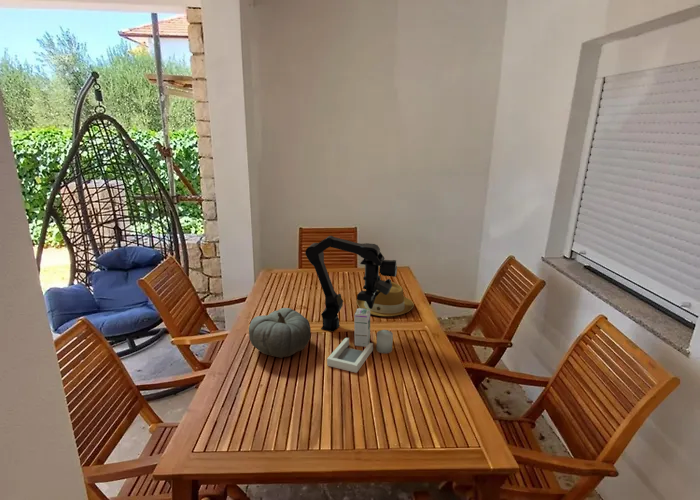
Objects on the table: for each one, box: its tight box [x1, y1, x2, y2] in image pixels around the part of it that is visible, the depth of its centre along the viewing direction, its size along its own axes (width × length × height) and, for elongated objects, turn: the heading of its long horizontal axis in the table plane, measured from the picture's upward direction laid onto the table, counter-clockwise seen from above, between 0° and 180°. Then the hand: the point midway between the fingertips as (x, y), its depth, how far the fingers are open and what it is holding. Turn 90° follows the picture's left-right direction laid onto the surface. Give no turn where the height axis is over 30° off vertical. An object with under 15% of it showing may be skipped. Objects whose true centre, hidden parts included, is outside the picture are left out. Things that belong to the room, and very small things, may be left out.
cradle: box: [326, 337, 374, 374], centre depth 160 cm, size 12×18×3 cm
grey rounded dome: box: [375, 329, 394, 354], centre depth 166 cm, size 6×6×7 cm
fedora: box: [356, 281, 415, 317], centre depth 205 cm, size 27×29×12 cm
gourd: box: [248, 307, 312, 359], centre depth 165 cm, size 25×25×17 cm
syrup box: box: [353, 307, 371, 348], centre depth 169 cm, size 6×6×14 cm
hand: (370, 308), depth 177 cm, fingers closed
